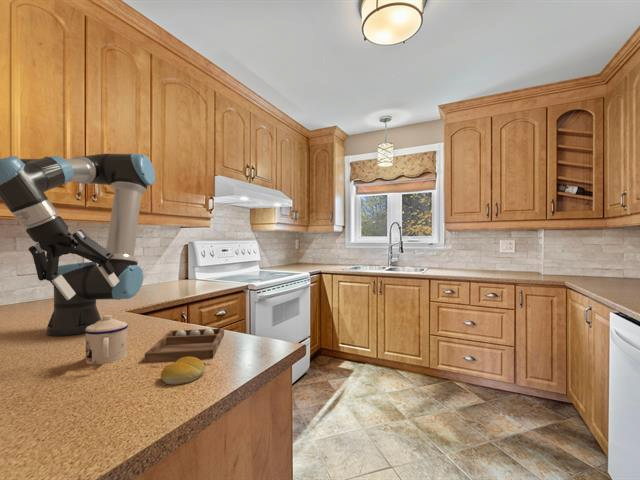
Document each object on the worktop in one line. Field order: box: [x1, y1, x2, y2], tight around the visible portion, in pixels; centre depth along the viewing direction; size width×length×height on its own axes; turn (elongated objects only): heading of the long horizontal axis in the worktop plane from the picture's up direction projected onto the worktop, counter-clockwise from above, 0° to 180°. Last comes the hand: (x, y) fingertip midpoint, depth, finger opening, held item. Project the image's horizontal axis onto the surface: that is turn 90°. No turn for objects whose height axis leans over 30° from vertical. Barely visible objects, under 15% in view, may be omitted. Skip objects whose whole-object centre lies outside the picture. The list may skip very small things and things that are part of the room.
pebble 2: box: [190, 328, 200, 335], centre depth 96 cm, size 3×3×3 cm
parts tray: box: [144, 327, 225, 363], centre depth 89 cm, size 21×16×3 cm
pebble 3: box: [204, 328, 214, 335], centre depth 96 cm, size 3×3×3 cm
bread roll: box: [160, 357, 206, 386], centre depth 71 cm, size 8×9×4 cm
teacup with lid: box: [84, 314, 129, 365], centre depth 79 cm, size 12×9×12 cm
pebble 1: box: [175, 329, 186, 336], centre depth 95 cm, size 3×3×3 cm
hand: (93, 290), depth 87 cm, fingers open, 13 cm apart
